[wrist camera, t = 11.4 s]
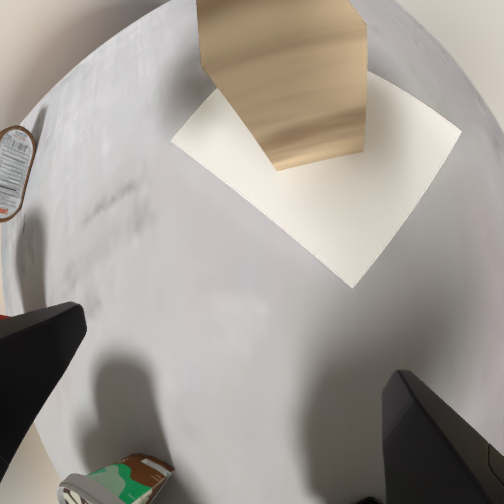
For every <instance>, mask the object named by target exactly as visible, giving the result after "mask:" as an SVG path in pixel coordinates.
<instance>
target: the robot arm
mask: <svg viewBox="0 0 504 504" xmlns="http://www.w3.org/2000/svg"><path fill="white" fill-rule="evenodd" d="M86 332H87V325H86V320H85V315H84V310H83V307H82V306H81V305H80V304H77V303H75V302H66V303H62V304H58V305H55V306H51V307H47V308H43V309H40V310H36V311H32V312H28V313H25V314H21V315H17V316H13V317H10V318H6V319H2V320H0V483H1V480H2V479H3V477H4V475H5V472H6V471H7V469H8V467H9V464H10V462H11V460H12V458H13V457H14V455H15V453H16V451H17V449H18V447H19V445H20V444H21V442H22V440H23V438H24V437H25V435H26V433H27V431H28V430H29V428H30V426H31V425H32V423H33V421H34V420H35V418H36V416H37V415H38V413H39V411H40V410H41V408H42V407H43V405H44V403H45V402H46V400H47V399H48V397H49V395H50V394H51V392H52V391H53V389H54V388H55V386H56V385H57V383H58V382H59V380H60V379H61V377H62V376H63V374H64V372H65V371H66V369H67V367H68V366H69V364H70V362H71V360H72V358H73V356H74V355H75V353H76V351H77V349H78V347H79V346H80V344H81V342H82V340H83V338H84V337H85V335H86ZM382 446H383V458H384V470H385V485H386V504H504V456H503V455H502V454H500V453H499V452H498V451H497V450H496V449H495V448H494V447H493V446H492V445H491V444H490V443H489V444H488V442H487V441H486V440H485V439H484V438H483V437H482V436H481V435H480V434H479V433H478V432H477V431H476V430H475V429H474V428H472V427H471V426H470V425H469V424H468V423H467V422H466V421H465V420H464V419H463V418H462V417H461V416H459V415H458V414H457V413H456V412H455V411H454V410H453V409H452V408H451V407H450V406H449V405H447V404H446V403H445V402H444V401H443V400H442V399H441V398H440V397H439V396H438V395H436V394H435V393H434V392H433V391H432V390H431V389H430V388H429V387H428V386H426V385H425V384H424V383H423V382H422V381H421V380H420V379H419V378H418V377H416V376H415V375H414V374H413V373H412V372H411V371H409V370H401V369H397V370H395V371H394V372H393V374H392V376H391V377H390V379H389V381H388V383H387V385H386V386H385V388H384V390H383V393H382ZM367 502H369V503H367ZM357 504H383V503H381V502H380V501H378V500H376V499H375V498H373V497H367V498H365V499H364V500H362V501H360V502H359V503H357Z"/></svg>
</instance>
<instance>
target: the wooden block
mask: <svg viewBox="0 0 504 504" xmlns="http://www.w3.org/2000/svg"><path fill="white" fill-rule="evenodd" d="M196 4H197V19H198V32H199V45H200V57H201V67H202V68H203V69H204V71H205V72H206V73H207V74H208V76H209V77H210V78H211V80H212V81H213V82H214V84H215V85H216V86H217V87H218V89H219V90H220V91H221V93H222V94H223V95H224V97H225V98H226V99H227V101H228V102H229V104H230V105H231V106H232V108H233V109H234V110H235V112H236V113H237V114H238V116H239V117H240V119H241V120H242V121H243V123H244V124H245V126H246V127H247V128H248V130H249V131H250V133H251V134H252V135H253V137H254V138H255V140H256V141H257V143H258V144H259V146H260V147H261V148H262V150H263V151H264V153H265V154H266V156H267V157H268V159H269V160H270V162H271V163H272V165H273V166H274V168H275V169H276V171H281V170H285V169H289V168H293V167H297V166H301V165H305V164H309V163H313V162H318V161H322V160H327V159H331V158H336V157H340V156H345V155H350V154H355V153H360V152H363V150H364V138H365V123H366V103H367V28H366V23H365V22H364V20H363V19H362V18H361V16H360V15H359V14H358V12H357V11H356V10H355V8H354V7H353V6H352V5H351V3H350V2H349V1H348V0H196Z"/></svg>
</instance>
